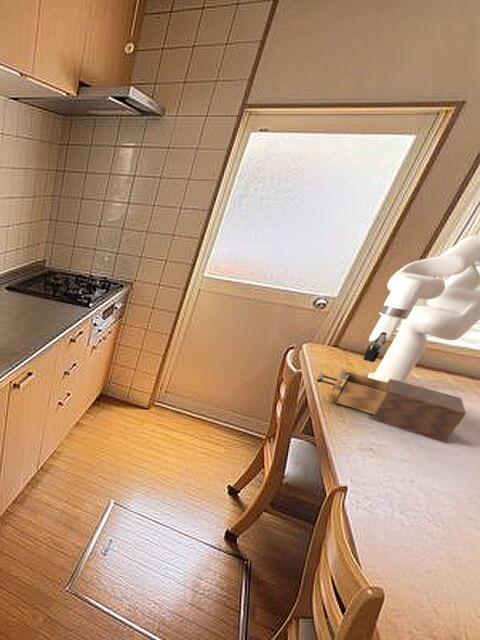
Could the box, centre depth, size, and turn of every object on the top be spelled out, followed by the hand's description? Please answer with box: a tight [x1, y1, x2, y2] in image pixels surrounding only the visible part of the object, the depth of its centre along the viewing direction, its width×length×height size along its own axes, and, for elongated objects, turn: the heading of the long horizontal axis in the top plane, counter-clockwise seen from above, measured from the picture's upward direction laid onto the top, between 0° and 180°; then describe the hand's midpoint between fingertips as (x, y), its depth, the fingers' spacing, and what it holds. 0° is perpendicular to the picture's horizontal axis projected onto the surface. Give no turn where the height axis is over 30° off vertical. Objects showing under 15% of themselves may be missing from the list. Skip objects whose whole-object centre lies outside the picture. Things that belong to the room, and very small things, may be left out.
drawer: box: [316, 368, 388, 415], centre depth 149 cm, size 22×14×9 cm, turn 46°
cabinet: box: [371, 379, 467, 443], centre depth 139 cm, size 18×15×11 cm
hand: (369, 358), depth 156 cm, fingers open, 6 cm apart
